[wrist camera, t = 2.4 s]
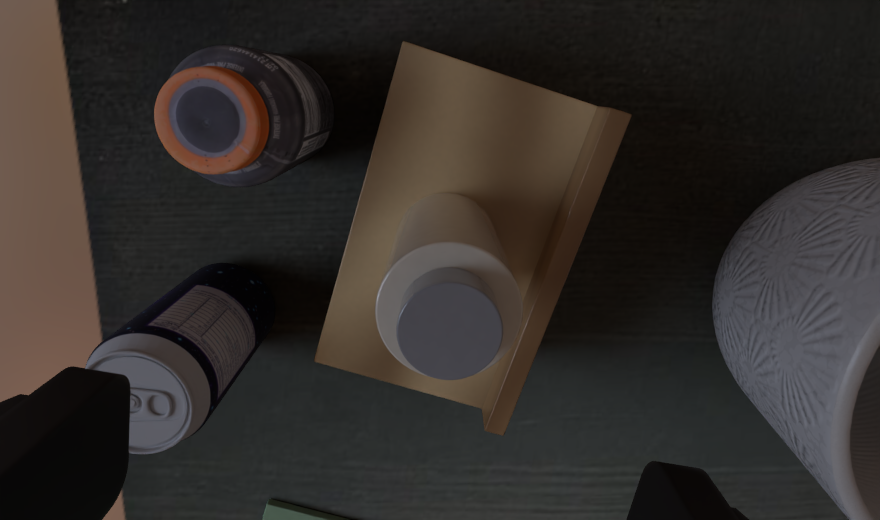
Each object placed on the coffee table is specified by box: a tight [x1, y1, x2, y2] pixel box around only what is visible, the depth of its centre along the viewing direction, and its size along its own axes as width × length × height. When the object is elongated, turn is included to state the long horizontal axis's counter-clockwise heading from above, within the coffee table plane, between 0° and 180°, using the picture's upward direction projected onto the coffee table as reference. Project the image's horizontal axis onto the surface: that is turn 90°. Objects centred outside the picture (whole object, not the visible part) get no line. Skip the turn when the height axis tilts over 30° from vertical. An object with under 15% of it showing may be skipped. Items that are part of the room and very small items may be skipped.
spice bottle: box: [375, 193, 523, 380], centre depth 22 cm, size 5×5×10 cm
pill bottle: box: [154, 45, 334, 187], centre depth 27 cm, size 6×6×11 cm
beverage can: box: [85, 263, 275, 454], centre depth 29 cm, size 6×6×12 cm
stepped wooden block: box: [314, 41, 632, 436], centre depth 29 cm, size 10×16×9 cm, turn 162°
